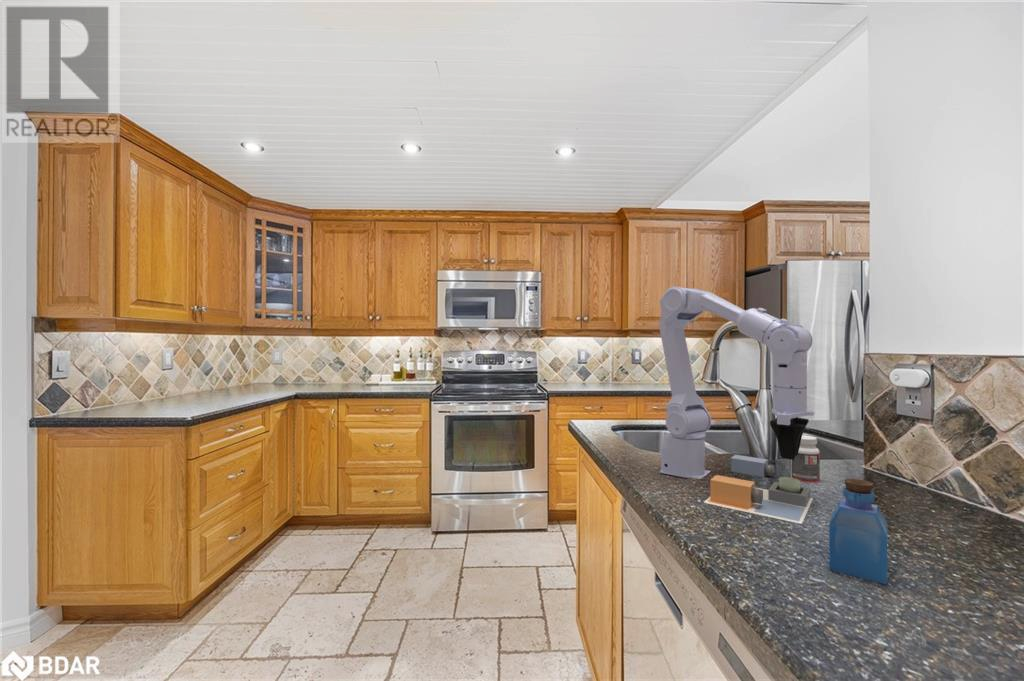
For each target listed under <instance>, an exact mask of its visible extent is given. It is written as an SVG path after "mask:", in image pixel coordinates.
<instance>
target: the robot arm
mask: <svg viewBox="0 0 1024 681" xmlns="http://www.w3.org/2000/svg"><path fill="white" fill-rule="evenodd" d="M659 306H660V310H661V311H660V317H659V324H658V327H659V333H660V339H661V343H662V349H663V354H664V361H665V367H666V370H667V376H668V381H669V382H668V383H669V388H670V392H671V398H670V399H669V401H668V402H667V403H666V406H665V407H666V416H665V426H666V429H667V431H668V432H669V433H665V434H663V436H662V439H661V443H660V444H661V445H660V470H659V473H660V474H664V475H668V476H669V475H670V476H675V477H679V478H684V479H685V478H686V479H689V478H692V479H693V478H694V479H700V480H701V479H703V478H704V477H705V476H707V475H708V474H710V472H711V470H707V469H706V461H705V460H706V450H705V449H706V436H707V431H709V429H710V428H711V426H712V417H711V414H710V412H709V411H708V409H707V408H706V404H705V401H704V400H703V399H702V397H700V396H699V395H698V394H697V390H696V386H695V381H694V375H693V371H692V370H693V369H692V364H691V358H690V355H689V354H690V353H689V349H688V343H687V338H686V335H685V334H686V333H685V329H686V328H687V326H688V325H689V323H691V322H692V321H693V320H694V319H696V318H698V316H700V315H701V314H702V313H703V312H708V313H712V314H714V315H716V316H719V317H720V318H722V319H725V320H727V321H730V322H732V323H734V324H736V326H737V330H738V332H739V333H741V334H743V335H745V336H746V337H748V338H751V339H753V340H755V341H757V342H759V343H760V344H762V345H763V346H764V345H765V346H767V348H768V349H769V351H770V352H771V353H772V354H771V355H772V408H771V413H772V414H774V415H775V416H776V417H775V418H774V419H771V420H770V421H769V425H770V427H771V428H772V430H773V432H774V434H775V437H776V441H777V445H778V451H779V454H780V457H781V458H782V459H785V460H790V459H791V460H794V459H795V456H797V454H798V452H799V448H800V443H801V438H802V435H804V431H805V428H806V426H807V425H808V424H809V422H810V421H809V419H808V418H805V417H807V416H809V417H811V416H815V411H814V410H808V400H807V399H808V351H809V350H810V348H812V346H813V345H812V344H813V336H812V333H811V332H810V331H809V330H808V329H806V327H804V326H802V324H801V325H799V324H798V325H797V324H794V325H790V324H789V320H788V319H785V318H777V317H776V316H773V315H771V314H768V313H767V309H765V308H763V307H758V308H755V307H752V308H749V309H746V310H745V309H743V308H742V307H740V306H738V305H735V304H734V303H732V302H730V301H727V300H726V299H724V298H723V297H720V296H718V295H716V294H715V293H712V292H710V291H706V290H703V289H700V288H689V287H687V288H686V287H680V286H671V287H669V288H667V289H666V291H665V292H664V293H663V295H662V296H661V297H660V299H659ZM802 417H803V418H802Z"/></svg>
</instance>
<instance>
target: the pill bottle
mask: <svg viewBox="0 0 1024 681" xmlns="http://www.w3.org/2000/svg"><path fill="white" fill-rule="evenodd" d="M817 444H818V438H817V437H815V436H812V435H804V434H802V438H801V443H800V448H799V452H798V454H797V456H795V459H794V460H791V459H789V477H790V478H795V479H798V480H800V483H801V482H802V483H808V484H809V483H819V482H820V480H821V472H820V471H821V470H820V469H821V464H820V463H821V462H820V461H821V459H820V458H821V455H820V454H821V453H820V452H821V451H820V449H819V448H818V447H817V446H816V445H817Z"/></svg>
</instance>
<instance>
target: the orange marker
mask: <svg viewBox="0 0 1024 681" xmlns="http://www.w3.org/2000/svg"><path fill="white" fill-rule="evenodd" d="M709 487H710V490H709V493H710V495H709V497H710V500H711V501H715V502H720V503H725V504H730V505H734V506H739V507H744V508H749V509H751V507H752V506H753V505H754V503H758V504H762V502H763V490H761V489H762V488H760V489H756V488H757V487H756V481H751V480H745V479H739V478H736V477H729V476H725V475H724V476H723V475H718V474H716V475H714V476H713V477H712V478H711V479H710V485H709Z"/></svg>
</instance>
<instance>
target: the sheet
mask: <svg viewBox="0 0 1024 681" xmlns="http://www.w3.org/2000/svg"><path fill="white" fill-rule="evenodd" d="M755 488H756V489H761V490H763V502H762V504H758V503H754V505H753V506H752V507H751V509H749V508H744V507H739V506H734V505H730V504H725V503H720V502H715V501H711V500H710V496H708V498H707V499H706V500H704V501H703V504H707V505H711V506H716V507H722V508H725V509H726V508H727V509H731V510H736V511H739V512H744V513H745V512H746V513H749V514H753V515H758V516H762V517H766V518H767V517H768V518H771V519H772V518H773V519H776V520H781V521H785V522H790V523H795V524H799V525H802V524H803V522H804V520H805V518H806V515H807V513H808V510H809V508H810V506H811V504H812V502H813V500H814V498H813V497H810V500H809V502H808V505H807V507H802V506H796V505H791V504H786V503H781V502H776V501H771V500H768V490H769V489H764V488H759V487H755Z"/></svg>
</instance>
